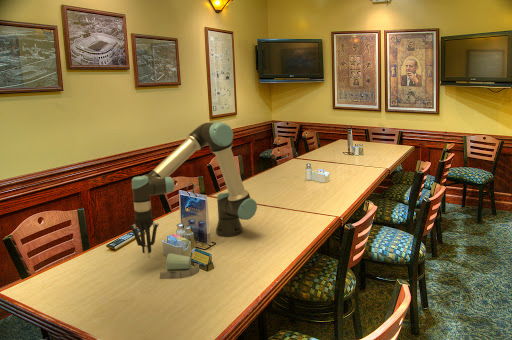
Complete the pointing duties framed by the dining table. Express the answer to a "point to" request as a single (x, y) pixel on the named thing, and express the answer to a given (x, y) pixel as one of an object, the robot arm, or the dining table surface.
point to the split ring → (180, 273)
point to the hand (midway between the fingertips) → (147, 259)
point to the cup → (177, 262)
